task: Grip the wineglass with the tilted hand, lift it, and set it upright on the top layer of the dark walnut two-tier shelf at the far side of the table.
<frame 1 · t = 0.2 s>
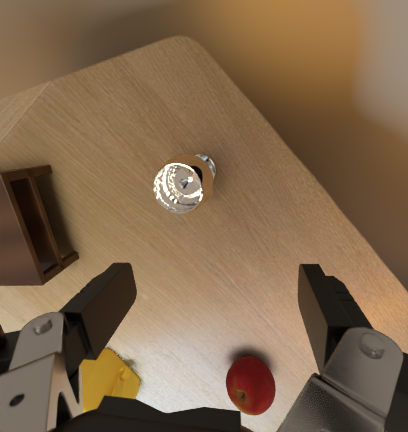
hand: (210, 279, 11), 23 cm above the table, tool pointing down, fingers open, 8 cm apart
wineglass: (200, 170, 33), on the table
shelf: (29, 216, 40), on the table
teapot: (103, 374, 50), on the table
apple: (249, 361, 43), on the table
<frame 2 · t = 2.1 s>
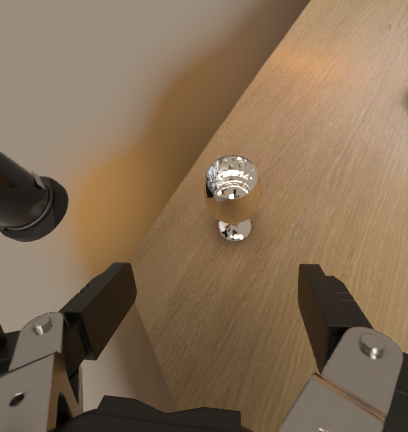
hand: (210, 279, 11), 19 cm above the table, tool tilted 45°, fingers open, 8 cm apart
wineglass: (234, 226, 32), on the table
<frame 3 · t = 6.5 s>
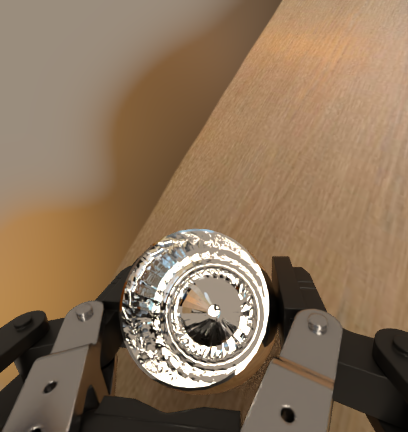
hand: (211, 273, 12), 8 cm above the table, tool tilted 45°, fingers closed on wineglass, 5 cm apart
wineglass: (226, 319, 18), on the table, touching gripper
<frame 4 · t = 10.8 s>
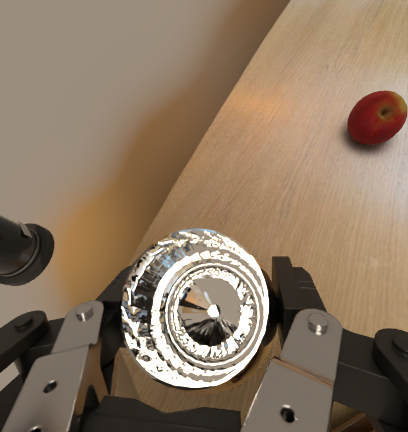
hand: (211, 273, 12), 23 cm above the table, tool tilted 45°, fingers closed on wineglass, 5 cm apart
wineglass: (226, 318, 18), point 15 cm above the table, touching gripper
apple: (364, 138, 41), on the table
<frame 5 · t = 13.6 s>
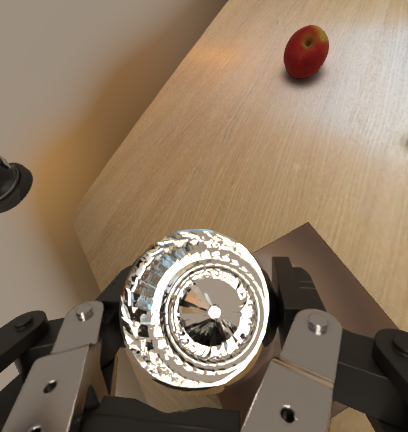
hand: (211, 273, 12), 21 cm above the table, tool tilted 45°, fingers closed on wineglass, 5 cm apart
wineglass: (226, 319, 18), point 13 cm above the table, touching gripper
shelf: (275, 325, 28), on the table
apple: (301, 75, 46), on the table
when the fingers open (16 cm above the table, at t = 15.5 s): wineglass stays where it is, resting on shelf.
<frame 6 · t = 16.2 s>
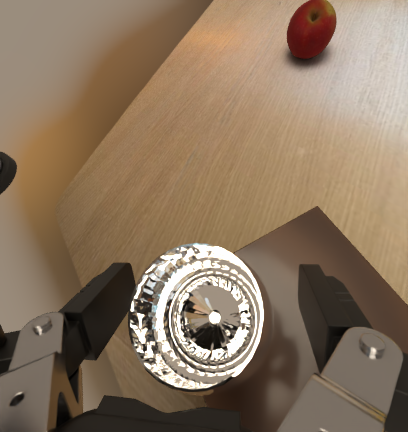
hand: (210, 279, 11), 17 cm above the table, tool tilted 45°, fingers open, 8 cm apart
wineglass: (226, 322, 19), point 8 cm above the table, touching shelf
shelf: (278, 327, 25), on the table
apple: (305, 56, 43), on the table
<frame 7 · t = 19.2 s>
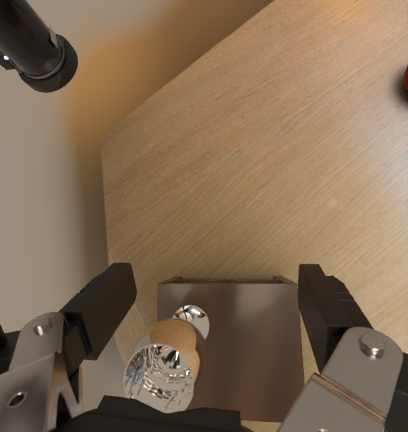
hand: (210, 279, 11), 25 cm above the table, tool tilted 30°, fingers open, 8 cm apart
wineglass: (190, 324, 27), point 8 cm above the table, touching shelf
shelf: (228, 326, 34), on the table
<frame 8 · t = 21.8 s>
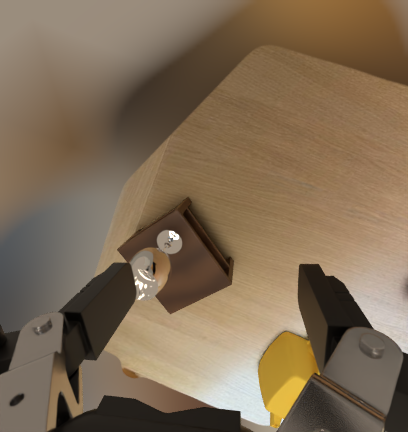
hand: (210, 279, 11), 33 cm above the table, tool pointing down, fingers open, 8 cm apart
wineglass: (169, 241, 40), point 8 cm above the table, touching shelf
shelf: (184, 246, 49), on the table
teapot: (289, 359, 54), on the table
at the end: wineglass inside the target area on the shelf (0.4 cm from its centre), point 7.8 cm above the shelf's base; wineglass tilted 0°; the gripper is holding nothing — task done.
